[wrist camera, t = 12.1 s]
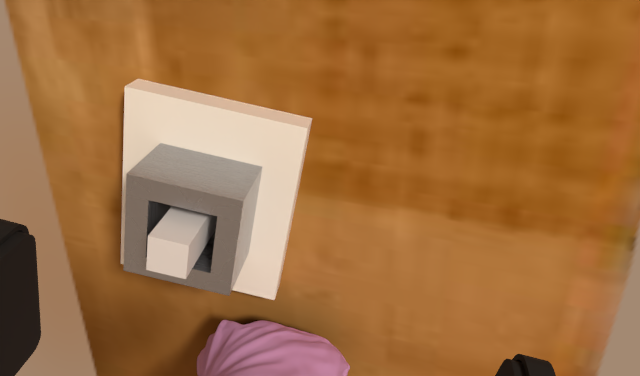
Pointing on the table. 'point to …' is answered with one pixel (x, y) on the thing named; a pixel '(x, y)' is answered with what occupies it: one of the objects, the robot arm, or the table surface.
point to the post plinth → (228, 142)
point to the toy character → (268, 352)
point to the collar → (198, 195)
